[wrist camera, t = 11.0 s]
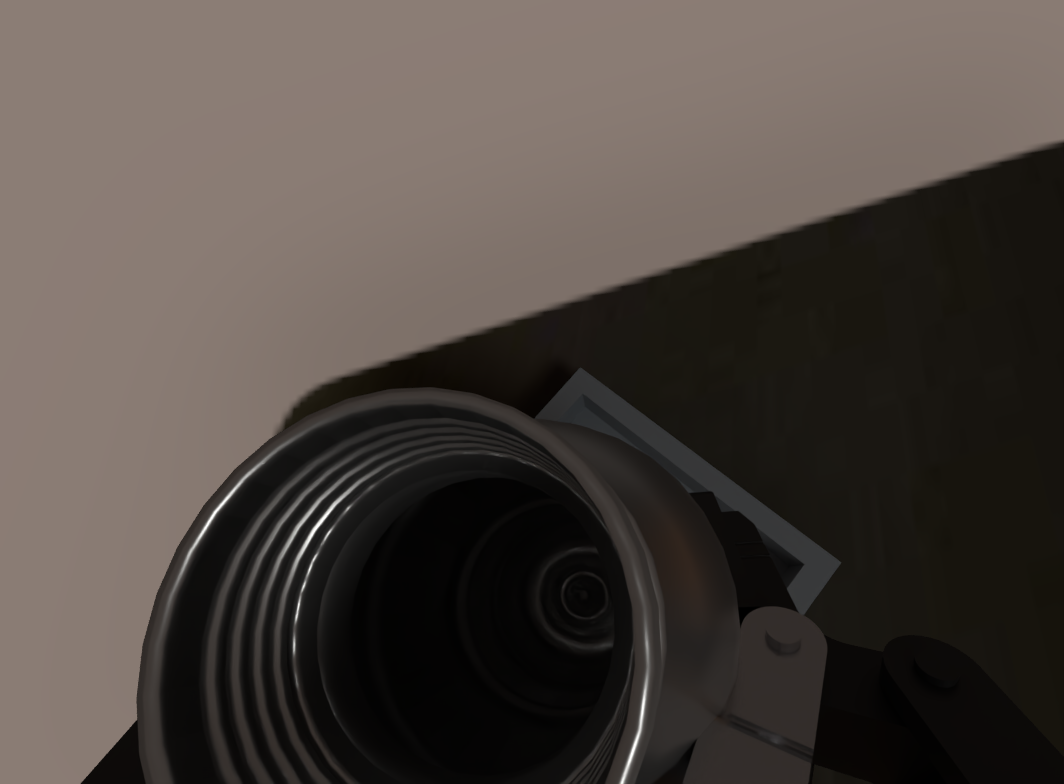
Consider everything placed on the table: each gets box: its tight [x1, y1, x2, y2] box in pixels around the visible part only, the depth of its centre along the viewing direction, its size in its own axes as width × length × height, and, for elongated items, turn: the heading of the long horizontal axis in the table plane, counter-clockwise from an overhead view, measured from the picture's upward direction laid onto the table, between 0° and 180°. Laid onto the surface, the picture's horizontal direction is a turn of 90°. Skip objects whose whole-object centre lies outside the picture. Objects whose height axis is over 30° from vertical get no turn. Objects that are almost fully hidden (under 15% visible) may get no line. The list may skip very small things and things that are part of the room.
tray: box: [534, 368, 841, 615], centre depth 23 cm, size 16×14×3 cm
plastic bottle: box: [137, 387, 741, 784], centre depth 13 cm, size 6×7×20 cm
